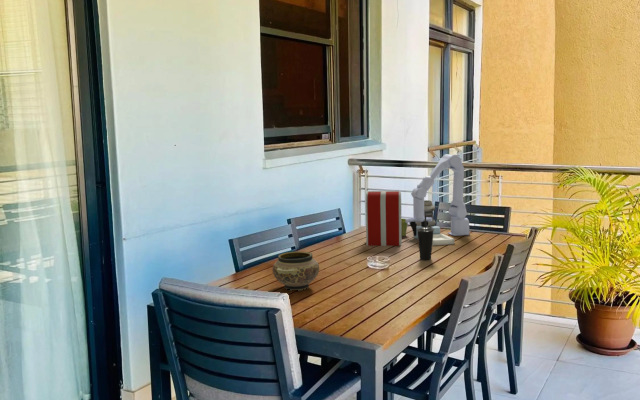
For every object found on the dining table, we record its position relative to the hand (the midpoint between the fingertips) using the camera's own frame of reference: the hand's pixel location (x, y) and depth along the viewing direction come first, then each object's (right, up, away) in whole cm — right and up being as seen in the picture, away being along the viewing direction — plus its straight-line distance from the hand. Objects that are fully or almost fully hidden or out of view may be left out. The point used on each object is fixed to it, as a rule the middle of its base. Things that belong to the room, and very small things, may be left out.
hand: (419, 235), depth 318 cm
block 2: (+8, -1, -1) cm, 9 cm away
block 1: (0, -1, 0) cm, 1 cm away
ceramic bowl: (-62, -15, -88) cm, 109 cm away
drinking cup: (-5, -8, -48) cm, 49 cm away
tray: (+8, -3, -11) cm, 14 cm away
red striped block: (-19, -3, -9) cm, 22 cm away
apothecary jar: (+5, 0, +13) cm, 15 cm away
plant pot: (-9, -1, +9) cm, 12 cm away
